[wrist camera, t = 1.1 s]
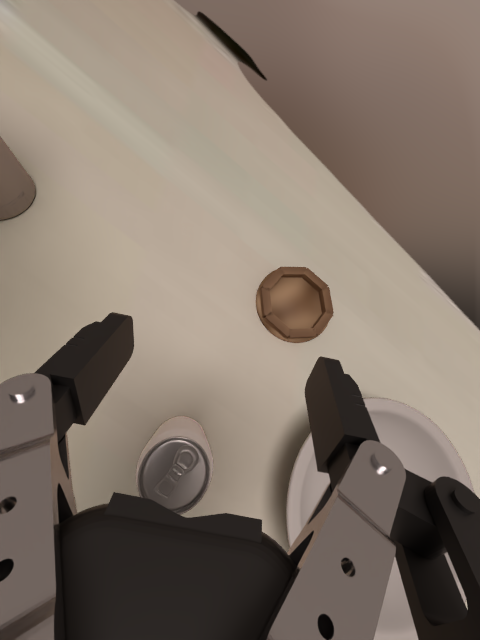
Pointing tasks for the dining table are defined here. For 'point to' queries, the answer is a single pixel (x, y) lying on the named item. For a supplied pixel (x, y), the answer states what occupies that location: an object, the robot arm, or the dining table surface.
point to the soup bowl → (416, 456)
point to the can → (175, 465)
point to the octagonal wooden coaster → (294, 304)
